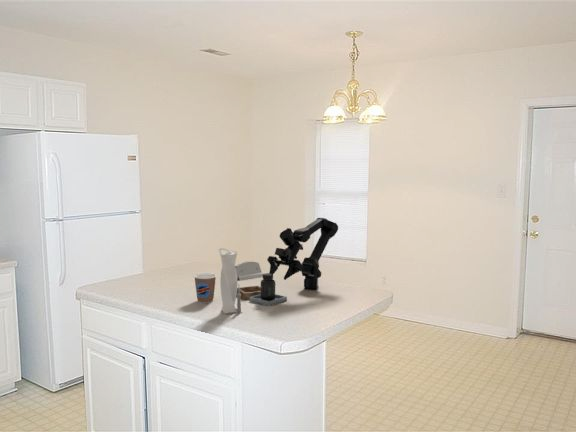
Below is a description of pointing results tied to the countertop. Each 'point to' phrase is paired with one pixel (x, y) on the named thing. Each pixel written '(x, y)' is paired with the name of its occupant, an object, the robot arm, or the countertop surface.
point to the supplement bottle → (267, 287)
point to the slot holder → (249, 291)
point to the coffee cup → (205, 287)
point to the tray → (277, 300)
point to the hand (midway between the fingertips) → (276, 277)
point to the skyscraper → (229, 283)
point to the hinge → (248, 270)
